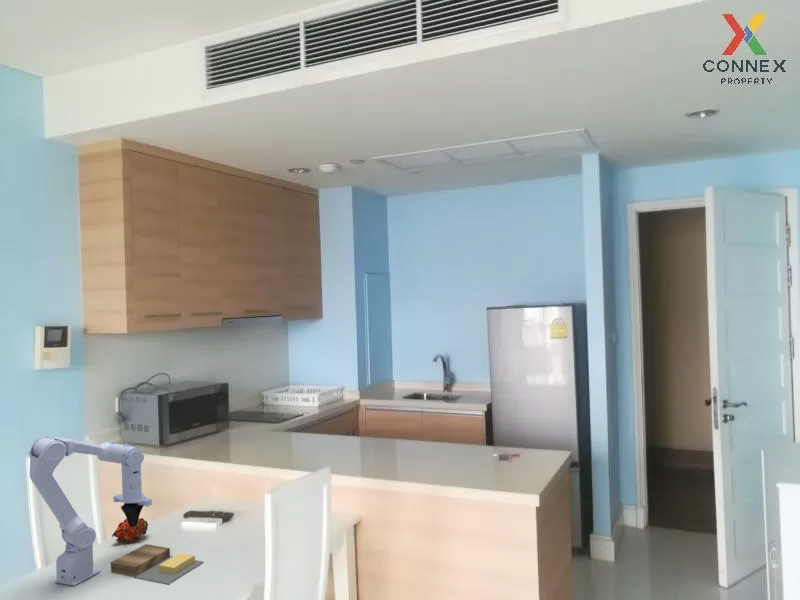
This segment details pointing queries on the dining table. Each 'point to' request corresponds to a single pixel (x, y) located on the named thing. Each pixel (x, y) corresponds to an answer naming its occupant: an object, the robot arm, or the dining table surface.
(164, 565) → the yellow rectangular block
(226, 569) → the dining table surface
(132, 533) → the dragon fruit
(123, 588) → the dining table surface
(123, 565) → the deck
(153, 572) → the mat
